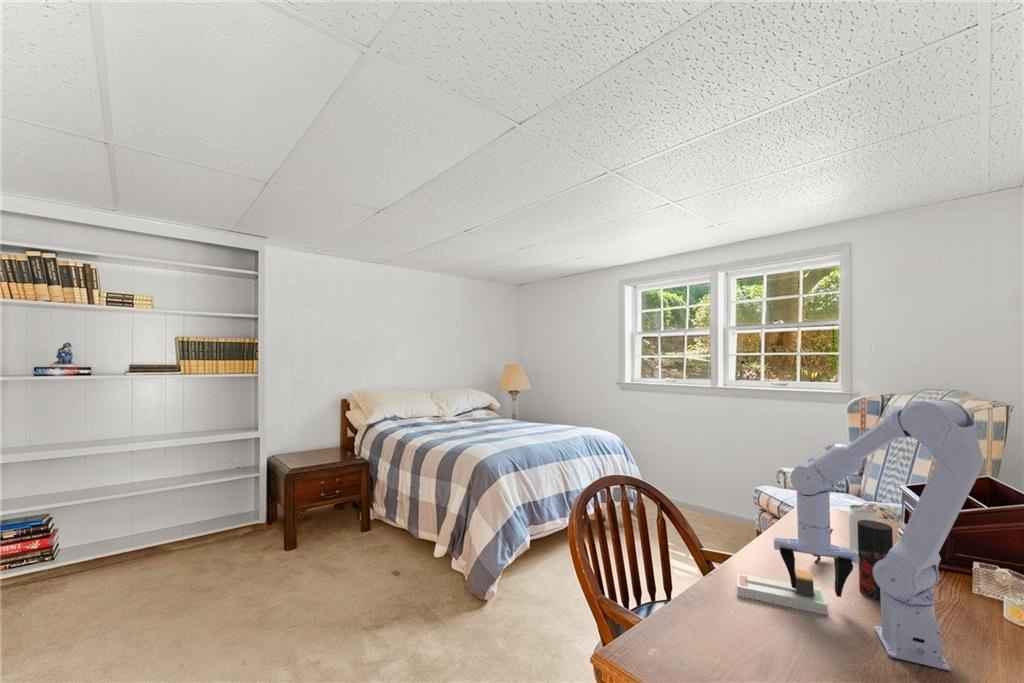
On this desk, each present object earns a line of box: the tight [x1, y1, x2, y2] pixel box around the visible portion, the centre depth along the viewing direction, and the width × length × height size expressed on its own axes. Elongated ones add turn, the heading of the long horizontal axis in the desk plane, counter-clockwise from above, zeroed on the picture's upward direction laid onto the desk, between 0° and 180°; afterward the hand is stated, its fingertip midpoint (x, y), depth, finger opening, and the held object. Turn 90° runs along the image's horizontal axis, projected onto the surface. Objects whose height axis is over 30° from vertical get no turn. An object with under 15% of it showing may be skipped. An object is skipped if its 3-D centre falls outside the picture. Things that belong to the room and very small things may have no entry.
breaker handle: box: [795, 568, 815, 597], centre depth 94 cm, size 4×3×3 cm
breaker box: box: [736, 573, 829, 616], centre depth 96 cm, size 7×16×2 cm, turn 63°
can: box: [847, 504, 880, 552], centre depth 119 cm, size 6×6×12 cm
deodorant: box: [857, 520, 894, 603], centre depth 98 cm, size 6×6×15 cm
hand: (815, 590), depth 93 cm, fingers open, 7 cm apart
